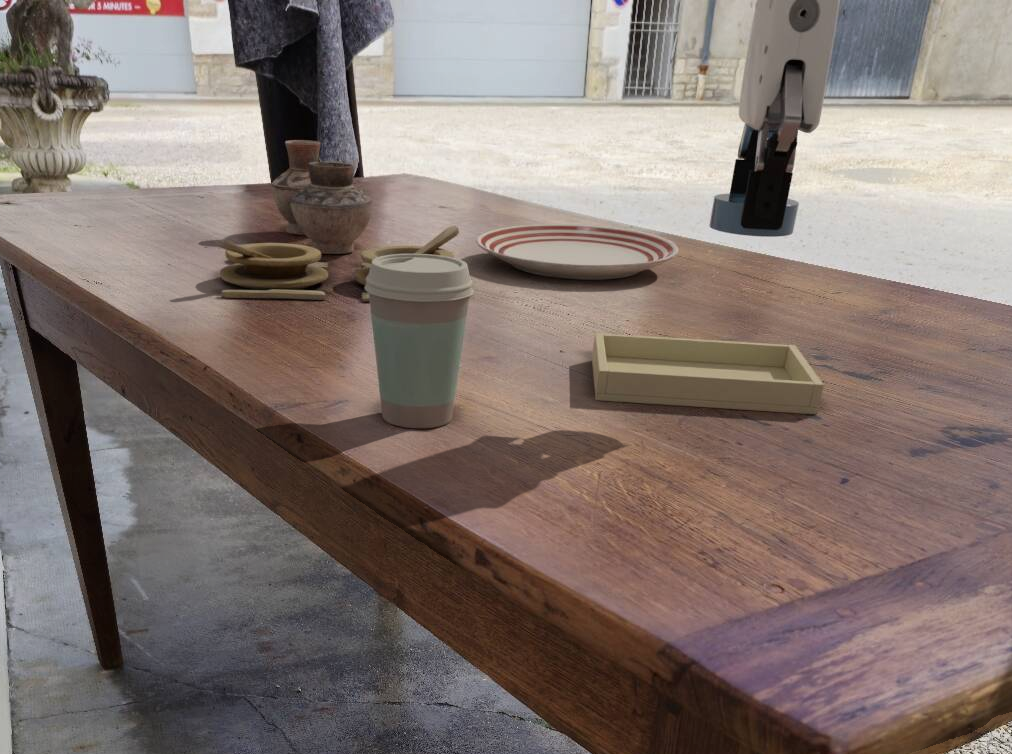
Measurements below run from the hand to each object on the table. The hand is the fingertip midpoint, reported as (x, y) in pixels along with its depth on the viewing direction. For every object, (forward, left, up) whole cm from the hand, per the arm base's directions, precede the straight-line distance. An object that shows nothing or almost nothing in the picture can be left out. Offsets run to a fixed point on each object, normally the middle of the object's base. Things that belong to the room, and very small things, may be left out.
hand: (753, 219), depth 86 cm
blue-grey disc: (0, 0, -1) cm, 1 cm away
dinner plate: (+12, -60, -15) cm, 63 cm away
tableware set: (+41, -40, -15) cm, 59 cm away
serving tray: (+1, -5, -15) cm, 16 cm away
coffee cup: (+26, +10, -15) cm, 32 cm away
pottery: (+49, -67, -15) cm, 84 cm away
